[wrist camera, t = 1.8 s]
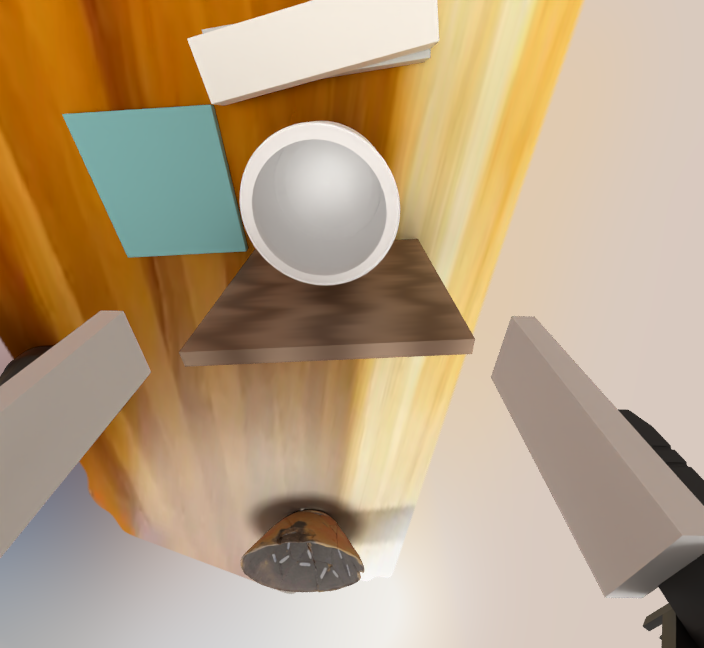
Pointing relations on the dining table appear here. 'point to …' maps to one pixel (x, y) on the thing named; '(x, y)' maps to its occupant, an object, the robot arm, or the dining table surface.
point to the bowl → (303, 555)
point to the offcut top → (310, 44)
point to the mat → (162, 179)
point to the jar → (320, 203)
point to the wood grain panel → (331, 315)
